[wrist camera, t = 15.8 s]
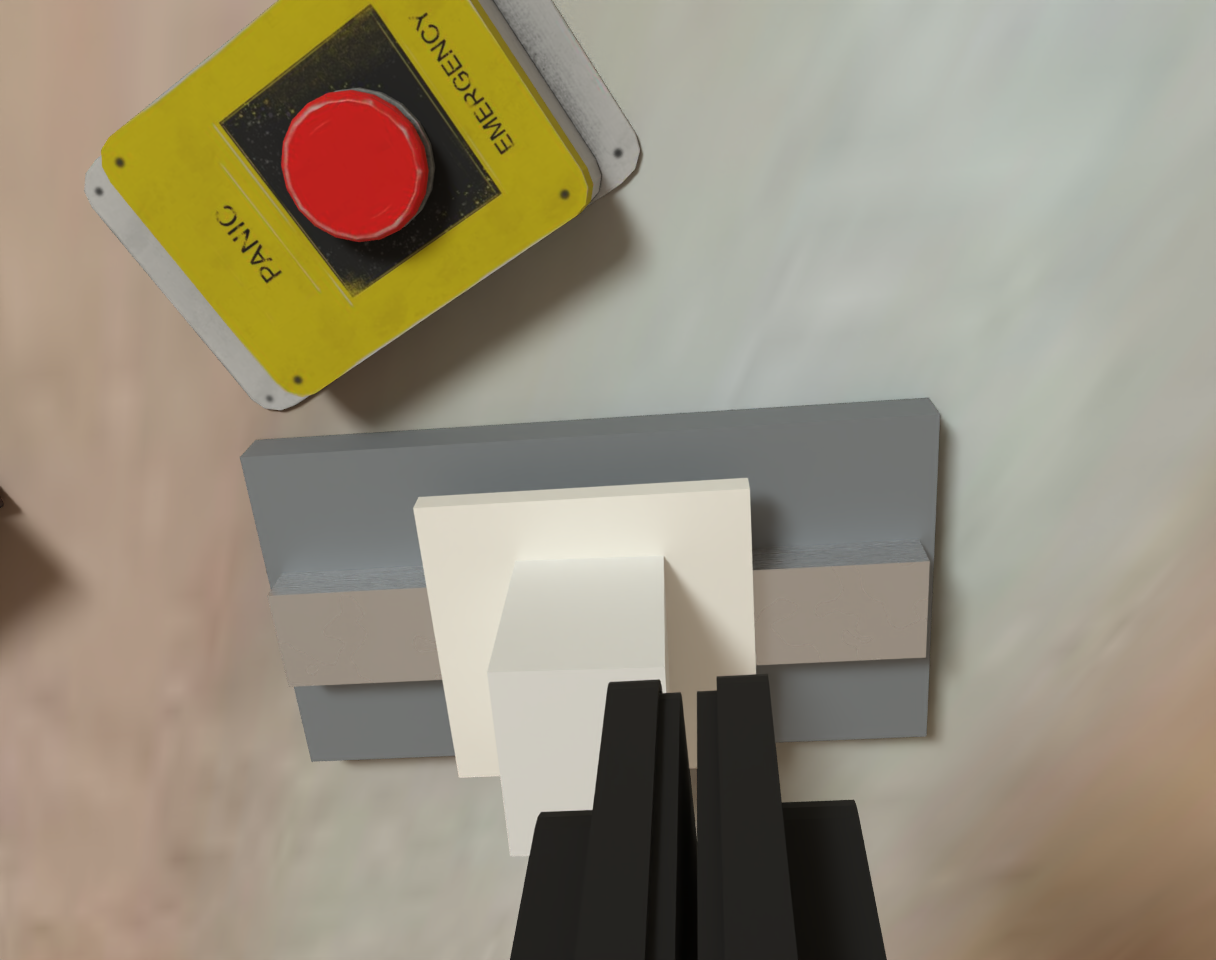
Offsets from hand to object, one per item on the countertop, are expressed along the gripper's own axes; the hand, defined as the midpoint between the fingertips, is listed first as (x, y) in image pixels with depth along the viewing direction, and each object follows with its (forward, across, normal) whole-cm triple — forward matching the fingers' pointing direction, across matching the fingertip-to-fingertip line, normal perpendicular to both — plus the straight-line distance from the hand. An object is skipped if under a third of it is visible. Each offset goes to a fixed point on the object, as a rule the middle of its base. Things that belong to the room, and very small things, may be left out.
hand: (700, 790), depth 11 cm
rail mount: (+23, +4, +11) cm, 26 cm away
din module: (+19, +4, +11) cm, 23 cm away
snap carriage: (+22, +4, +11) cm, 25 cm away
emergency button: (+24, +10, -4) cm, 26 cm away
